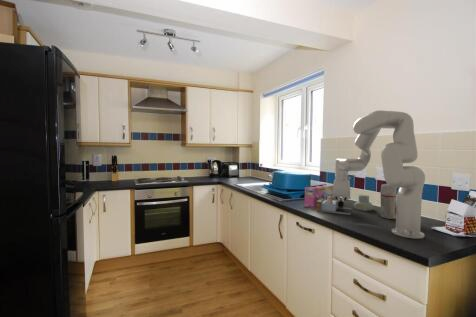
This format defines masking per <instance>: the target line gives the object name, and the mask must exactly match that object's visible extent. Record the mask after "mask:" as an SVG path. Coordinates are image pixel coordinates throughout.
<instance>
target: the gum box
mask: <svg viewBox="0 0 476 317" xmlns="http://www.w3.org/2000/svg"><path fill="white" fill-rule="evenodd" d="M332 195H333V184H331V185H328V184H325V183H324V184H323V183H322V184H317V185H308V186H305V187H304V208H309V207H312V208H316V205H317V201H318V200H319V199H320V198H321V197H322V198H325V200H327V196H332ZM332 200H334V198H333V199H332Z"/></svg>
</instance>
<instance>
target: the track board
mask: <svg viewBox="0 0 476 317" xmlns="http://www.w3.org/2000/svg"><path fill="white" fill-rule="evenodd" d="M337 210H348V211H352V210H353V208H351V207H350V208H349V207H342V208H339V206H337ZM321 212H322V213H329V214H330V213H332V214H339V215H349V216H350V215H351V212H345V211H344V212H343V211H336V212H335V211H326V210H321Z"/></svg>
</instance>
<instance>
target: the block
mask: <svg viewBox="0 0 476 317" xmlns="http://www.w3.org/2000/svg"><path fill="white" fill-rule="evenodd" d="M337 207H338V200H334V199H333V200H332V204H329V203H327V200H323V202H322V203H321V210H326V211H335V212H337V210H338V209H337Z"/></svg>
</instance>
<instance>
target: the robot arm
mask: <svg viewBox="0 0 476 317" xmlns="http://www.w3.org/2000/svg"><path fill="white" fill-rule="evenodd" d="M381 129H392V130H393V129H394V130H393V133H392V139H393V142H389V143H387V144H386V145H384V146H383V148H382V149H381V153H380V154H381V157H380V158H381V165H382V171H383V177H384V181H385V184H388V185H389V186H391V187H394V188H396V189H397V188H398V190H397V192H396V196H397V198H396V219H395V227H393V228H391V233H393V235H395V236H399V237H402V238H407V239H414V240H415V239H416V240H417V239H418V240H419V239H424V238H425V233H424V232H422V231H421V225H422V224H421V223H422V222H421V221H422V220H421V219H422V199H423V189H424V186H425V181H426V174H425V172H424V171H423V170H422V169H421V168H419V167H417V166H414V165H403V164H411V163H414V162H415V161H416V160H418V147H417V142H416V136H415V129H414V119H413V118H412V116H411V115H410V114H409V113H407V112H403V111H396V110H395V111H394V110H375V111H373V112H370V113H368V114H366V115H364V116H362V117H359V118H358V119H356V120H355V122H354V124H353V129H352V130H353V131H354V134H357V136H356V138H355V141H354V145H355V146H356V147H357V148H358V149H360V151H361V153H360V154H359V156H358V158H336V159H335V168H334V169H335V170H334V171H335V172H334V173H335V174H334V180H333V183H332V185H333V195H332V197H333V199H336V201H337V207H339V208H344V205H345V203H344V202H345V201H346V200H350V199H351V181H350V180H351V176H349V172H361V171H363V170H364V169H365V168H366V167H367V166H368V164H369V163H370V160H371V157H372V155H371V154H372V152H371V149H370V148H371V146H372V145H373V143H374V142H375V140H376V138H377V137H378V135H379V134H380V131H381ZM341 197H342V199H341Z"/></svg>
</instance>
